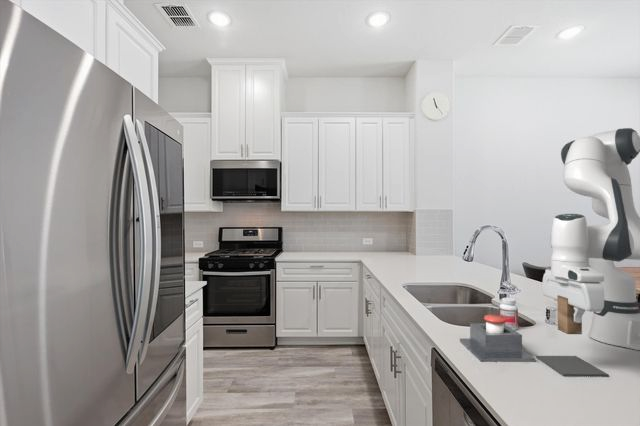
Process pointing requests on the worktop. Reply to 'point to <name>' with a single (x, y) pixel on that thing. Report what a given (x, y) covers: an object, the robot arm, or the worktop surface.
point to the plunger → (494, 323)
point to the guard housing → (496, 345)
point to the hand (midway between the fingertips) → (569, 319)
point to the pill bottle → (509, 312)
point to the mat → (571, 366)
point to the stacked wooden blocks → (567, 317)
